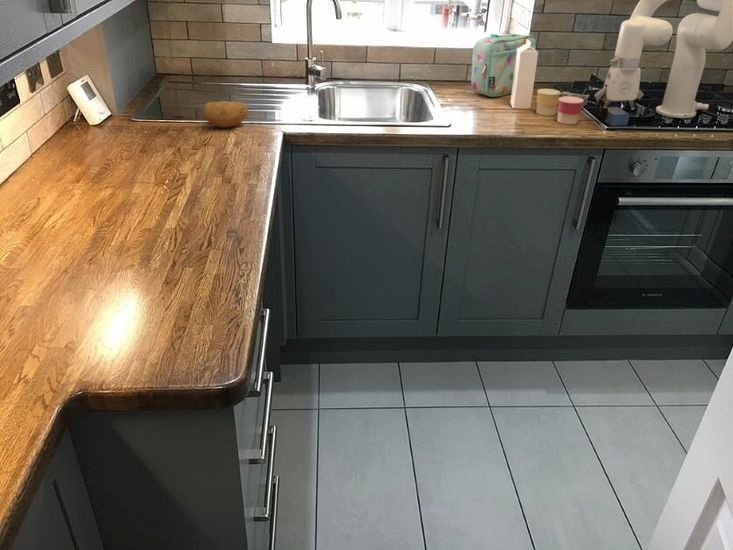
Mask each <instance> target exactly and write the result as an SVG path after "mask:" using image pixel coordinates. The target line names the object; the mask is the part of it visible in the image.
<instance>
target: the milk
mask: <svg viewBox="0 0 733 550" xmlns="http://www.w3.org/2000/svg"><path fill="white" fill-rule="evenodd" d="M538 56H539V51H538V50H537V49H536V50H535V49H534V48H532V47H531V42H530V41H529V40H528V39H527V41H526V44H525V45H523V46H521V47H519V48H518V49H517V53H516V61H515V69H514V77H513V85H512V93H511V94H510V102H509V104H510V106H511V107H512V108H513V109H531V106H532V100H533V94H534V93H533V92H534V85H535V80H536V79H535V78H536V71H537V64H538Z"/></svg>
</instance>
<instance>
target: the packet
mask: <svg viewBox="0 0 733 550" xmlns="http://www.w3.org/2000/svg"><path fill="white" fill-rule="evenodd" d="M607 108H608V113H607V117H606V120H605V121H604V122H605V123H606V124H608V125H609V126H611V127H613V126H614V127H615V126H628V123H629V119H630V116H631V113H630V114H629V113H627V112H625V111H624V109H622V108H620V107H618V106H612V107H608V106H607ZM629 115H630V116H629Z"/></svg>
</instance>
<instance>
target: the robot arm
mask: <svg viewBox="0 0 733 550" xmlns="http://www.w3.org/2000/svg"><path fill="white" fill-rule="evenodd" d="M667 1H668V0H639V1H638V3H637V4H636V6H635V8H634V10H633V12H632V13H631V16H630V18H629V19H626V20H624V21H622V22H621V24H620V28H619V33H618V38H617V43H616V47H615V51H614V56H613V58H612V59H611V58H610V59H609V64H610V65H611V66H610V67H609V69H608V71H607V74H606V77H605V80H604V83H603V87H602V88H601V89H600V90H599V91H597V92H596V93H595V94H594V95H593V97H594V98H595V100H596V102H597V104H598V105H599V106H600V109H599V114H598V117H599V119H600V120H602V121H603V122H605V120H606V117H607V113H608V108H607V107H608V106H609V105H610V104H611V102H625V105H624V106H623V110H624V111H625V112H627V113H629V114H630V115H629V117H630V116H631V113H632V109H633V108H634V107H635V105H636V104H637V103H638V102H639V101H640V100H641V99H642V98H643V97H644V95H645V94H644V92H643V91H641V89H640V82H641V67H639V64H640V61H641V56H642V51H643V47H644V46H651V47H660V46H663V45H665V44H667V43H668V42H669V41H670V40H671V38H672V36H673V33H674V29H673V26H672V24H671V23H670V22H669V21H667V20H665V19H660V18H657V17H653V15H654V13H655V11H657V9H658V8H659V7H661V5H663V4H664V3H665V2H667ZM696 3H697V5H698V7H699V8H702V9H704V10H709V11H712V12H713V11H714V12H719V13H718V15H715V14H714V15H713V14H708V13H703V12H702V13H701V12H693V13H690V14H687V15H686V16H685V17H683V18H682V19H681V21H680V22H679V24H678V26H677V30H676V43H675V44H676V45H675V51H674V56H673V60H672V64H671V68H670V72H669V76H668V79H667V83H666V88H665V90H664V91H665V92H664V95H663V100H662V104H661V105H658V106H656V107H655V112H656V114H659V115H661V116H664V117H668V118H673V119H675V118H676V119H690V118H694V117H696V115H697V111H698V110H700V111H701V110H702V111H708V110H709V104H708V103H703V102H697V101H696V97H697V93H698V89H699V86H700V82H701V80H702V75H703V72H704V68H705V66H706V60H707V59H706V58H707V53H706V50H709V51H710V50H711V51H715V52H716V51H723V50H725V49H727V48H728V47H729V46H730V45H731V43H733V0H696ZM602 98H603V99H602ZM684 115H687V116H684Z"/></svg>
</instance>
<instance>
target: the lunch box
mask: <svg viewBox="0 0 733 550" xmlns="http://www.w3.org/2000/svg"><path fill="white" fill-rule="evenodd" d="M527 39H528V40H529V41H530V42H531V47H532V48H534V49H535V50H536V51H537V40H536V37H534V36H533V35H532V34H526V35H525V34H518V33H506V34H496V33H495V34H494V33H490V34H489V36H485V37H483V38H480V39H478V40H477V41H476V42H475V43H474V45H473V48H472V55H471V56H472V58H471V74H470V76H471V77H470V79H471V80H470V82H471V89H472V91H473V92H474V93H475V94H478V95H482V96H483V95H484V96H487V97H490V98H497V97H498V98H499V97H502V96H507V95H511V93H512V85H513V77H514V69H515V61H516V53H517V49H518V48H519V47H521V46H523V45H525V44H526V41H527Z"/></svg>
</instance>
